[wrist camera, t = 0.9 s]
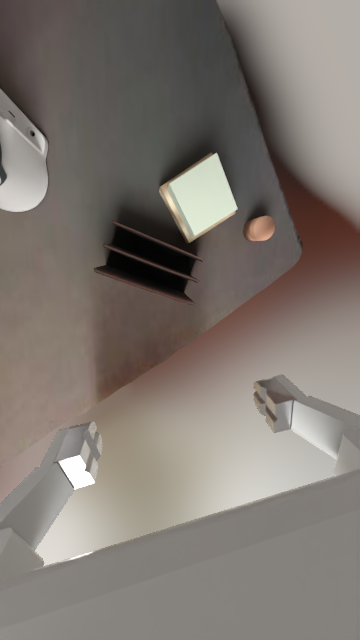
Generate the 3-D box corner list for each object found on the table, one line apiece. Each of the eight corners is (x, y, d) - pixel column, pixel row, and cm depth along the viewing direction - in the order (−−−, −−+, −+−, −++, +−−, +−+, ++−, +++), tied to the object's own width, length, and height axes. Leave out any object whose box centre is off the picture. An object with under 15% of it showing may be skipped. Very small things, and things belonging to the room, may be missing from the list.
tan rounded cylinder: (240, 226, 46) (250, 223, 41) (258, 214, 45) (270, 210, 41) (247, 245, 48) (258, 244, 43) (264, 234, 47) (277, 232, 43)
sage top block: (166, 189, 37) (169, 183, 34) (209, 162, 37) (216, 152, 33) (190, 237, 41) (194, 236, 38) (229, 212, 41) (237, 209, 37)
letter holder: (182, 294, 49) (195, 310, 36) (105, 266, 44) (88, 274, 31) (197, 257, 47) (216, 260, 34) (117, 222, 41) (103, 211, 28)
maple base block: (158, 192, 41) (160, 186, 37) (205, 160, 40) (211, 152, 36) (185, 243, 45) (189, 242, 42) (228, 215, 45) (235, 213, 41)
